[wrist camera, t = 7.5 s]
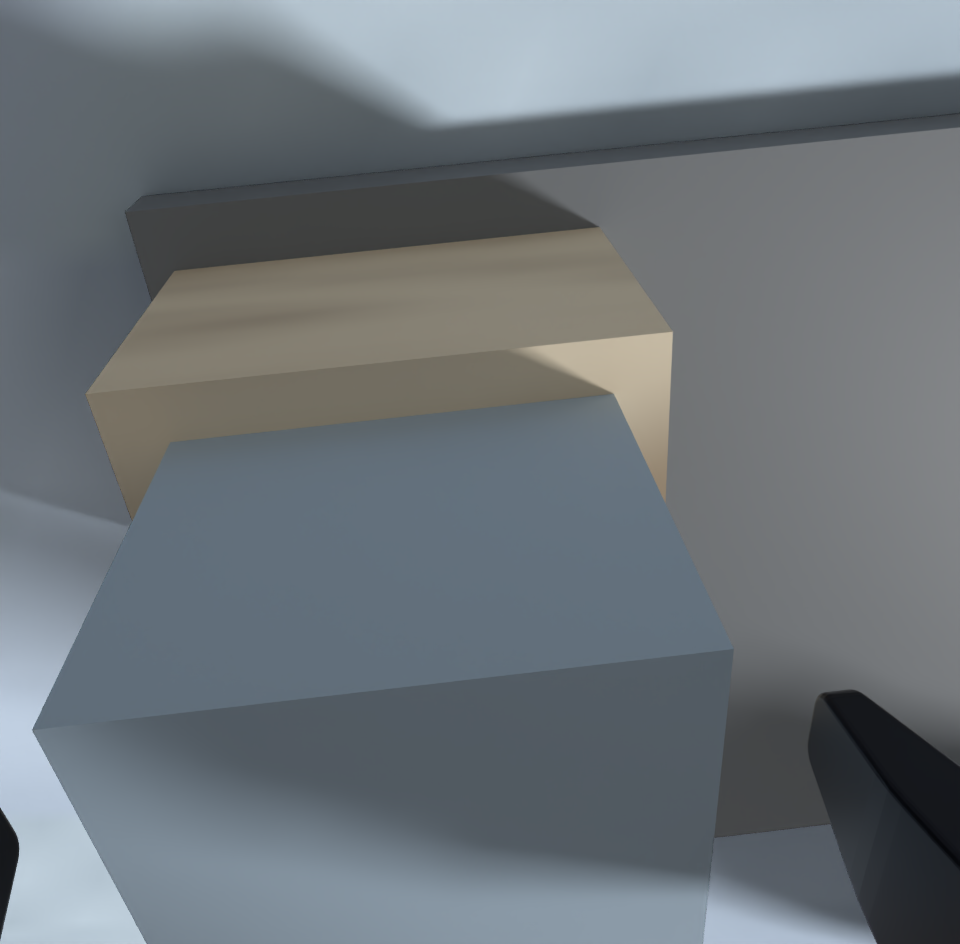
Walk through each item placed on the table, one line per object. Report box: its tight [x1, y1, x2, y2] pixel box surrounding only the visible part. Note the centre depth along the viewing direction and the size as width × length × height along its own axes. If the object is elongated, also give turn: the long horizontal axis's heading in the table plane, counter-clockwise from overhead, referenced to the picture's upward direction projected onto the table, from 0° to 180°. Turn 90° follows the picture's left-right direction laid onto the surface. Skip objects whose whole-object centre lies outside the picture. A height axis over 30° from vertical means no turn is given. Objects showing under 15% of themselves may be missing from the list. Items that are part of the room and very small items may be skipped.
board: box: [125, 114, 960, 838], centre depth 19 cm, size 18×18×1 cm
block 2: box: [32, 394, 734, 944], centre depth 10 cm, size 6×6×4 cm
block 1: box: [85, 227, 673, 521], centre depth 14 cm, size 7×7×4 cm
